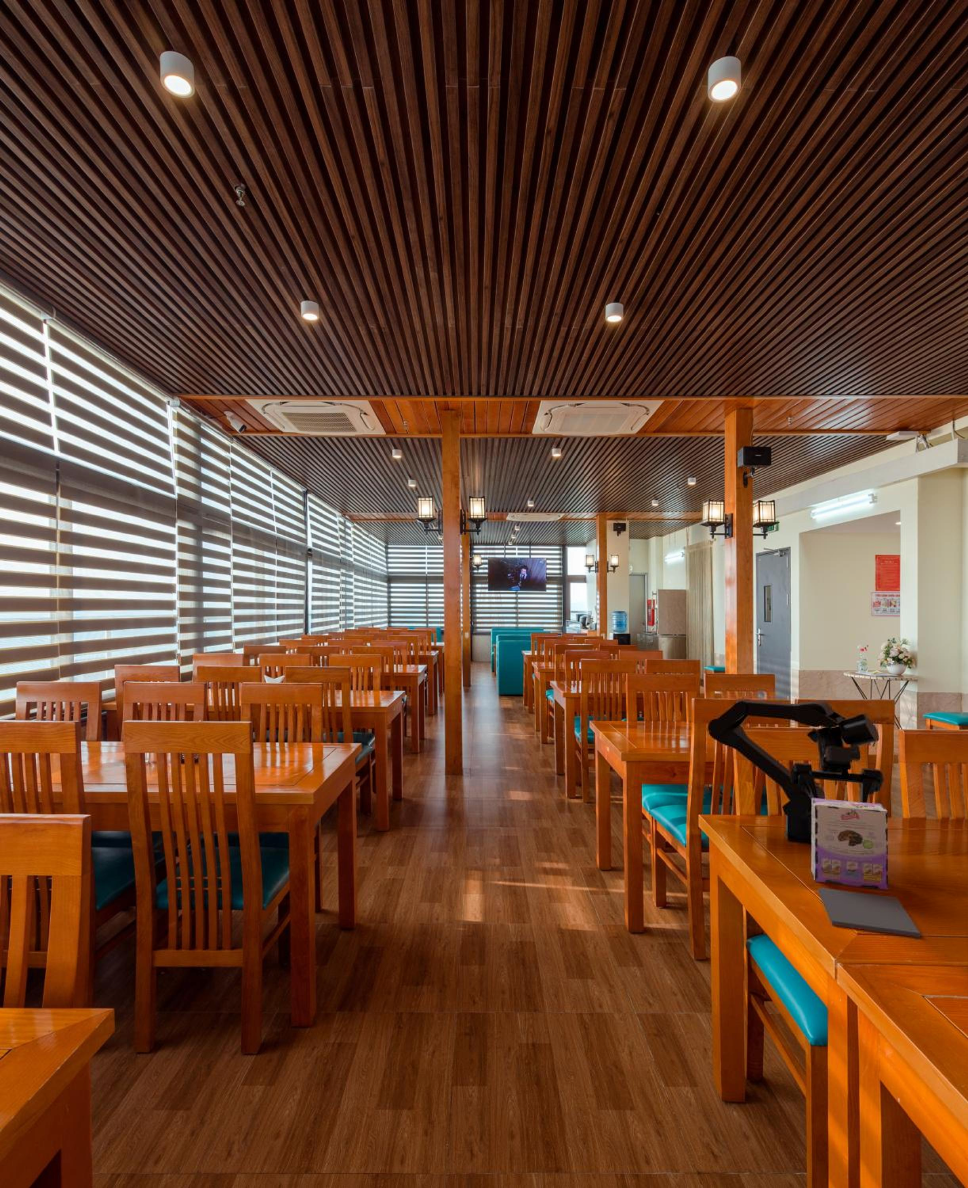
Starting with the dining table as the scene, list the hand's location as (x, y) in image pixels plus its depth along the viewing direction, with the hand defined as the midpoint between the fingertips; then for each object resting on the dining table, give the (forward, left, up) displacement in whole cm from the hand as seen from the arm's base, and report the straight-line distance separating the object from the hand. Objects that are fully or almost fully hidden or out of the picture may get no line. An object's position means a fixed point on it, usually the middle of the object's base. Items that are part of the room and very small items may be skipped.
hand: (840, 810), depth 151 cm
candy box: (0, -9, -13) cm, 15 cm away
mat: (0, -24, -12) cm, 27 cm away
